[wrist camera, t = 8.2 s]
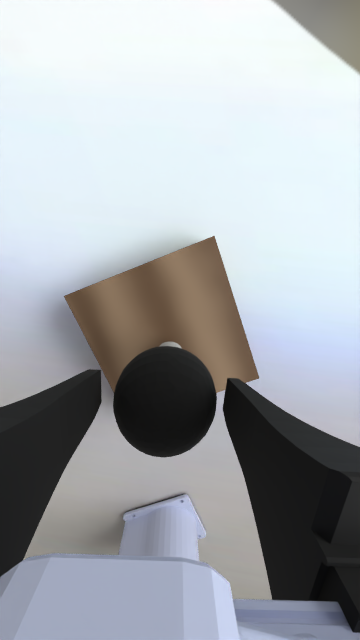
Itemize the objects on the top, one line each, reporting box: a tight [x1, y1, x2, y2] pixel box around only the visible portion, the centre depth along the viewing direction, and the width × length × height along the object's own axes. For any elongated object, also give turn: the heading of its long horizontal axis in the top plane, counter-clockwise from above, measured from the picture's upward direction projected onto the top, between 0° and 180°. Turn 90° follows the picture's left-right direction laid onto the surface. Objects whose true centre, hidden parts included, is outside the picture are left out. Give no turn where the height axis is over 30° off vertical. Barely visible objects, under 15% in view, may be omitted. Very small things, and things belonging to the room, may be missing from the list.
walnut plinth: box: [64, 236, 259, 393], centre depth 19 cm, size 14×14×3 cm
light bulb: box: [113, 342, 217, 457], centre depth 13 cm, size 6×6×10 cm
